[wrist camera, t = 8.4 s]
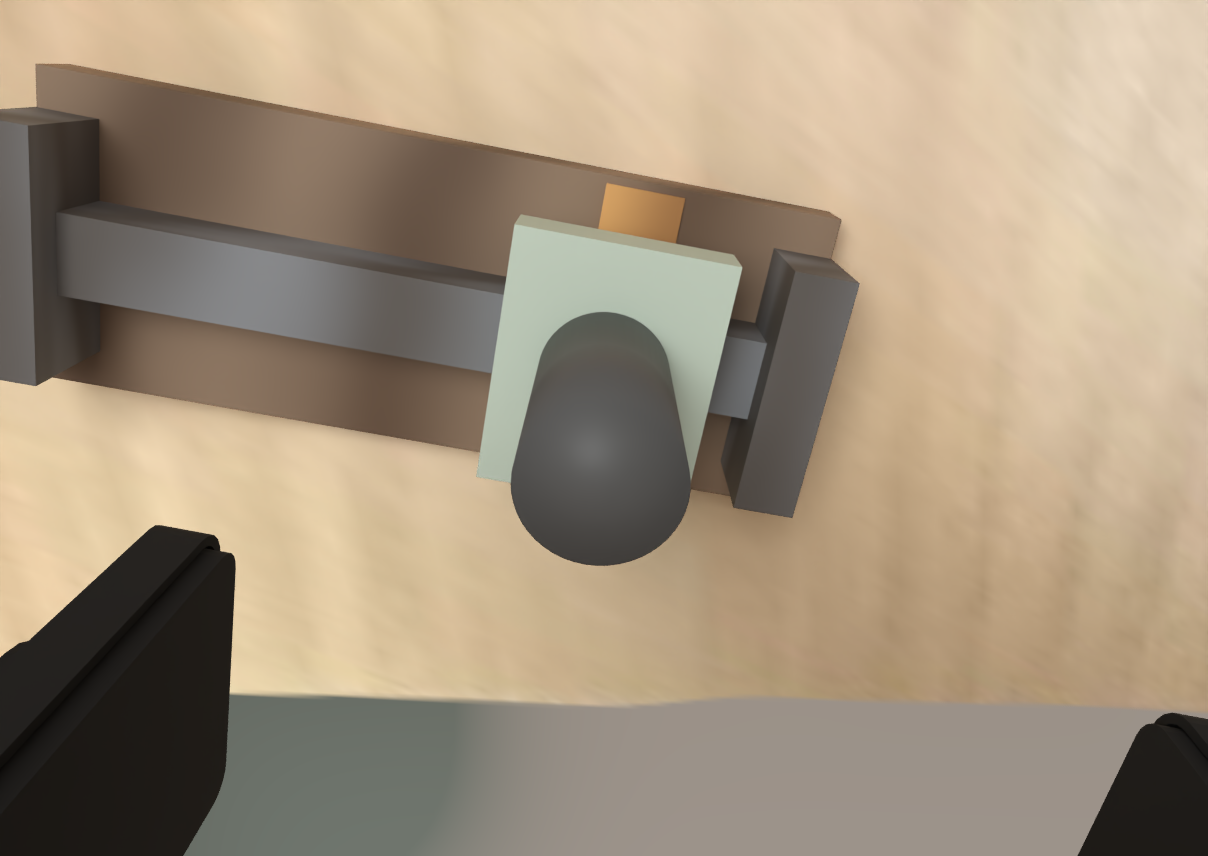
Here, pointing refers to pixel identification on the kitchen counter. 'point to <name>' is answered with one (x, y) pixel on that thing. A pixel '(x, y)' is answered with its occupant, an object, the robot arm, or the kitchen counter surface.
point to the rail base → (365, 212)
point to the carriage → (603, 384)
